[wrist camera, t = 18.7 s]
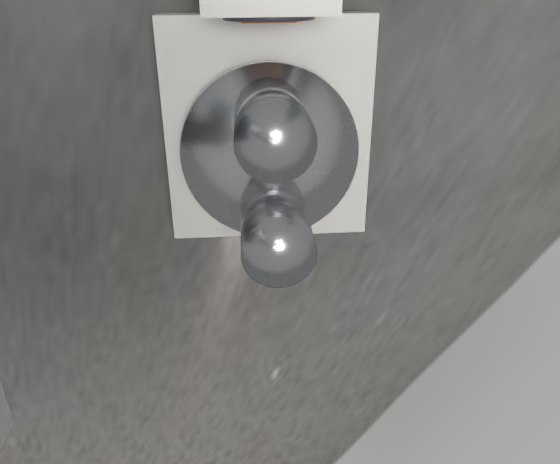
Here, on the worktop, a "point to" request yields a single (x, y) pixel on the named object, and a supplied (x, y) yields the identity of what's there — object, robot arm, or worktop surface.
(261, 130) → the cylinder
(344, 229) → the scale
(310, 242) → the grey metal knob
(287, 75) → the pan
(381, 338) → the worktop surface
